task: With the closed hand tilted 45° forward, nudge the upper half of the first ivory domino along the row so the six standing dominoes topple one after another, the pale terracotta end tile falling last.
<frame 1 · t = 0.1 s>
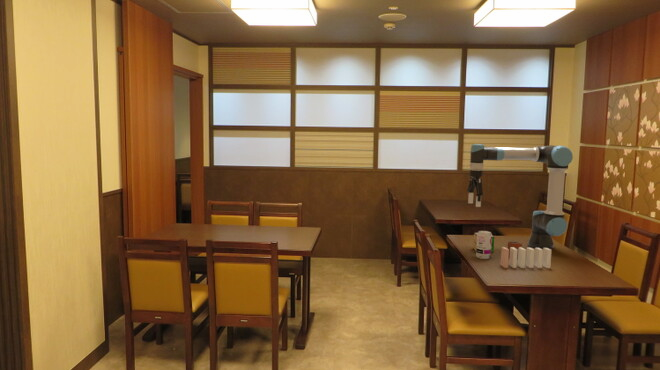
hand: (474, 205, 291), 28 cm above the table, tool pointing down, fingers open, 13 cm apart
domino 2: (537, 266, 261), on the table
domino 6: (504, 266, 260), on the table
domino 4: (521, 266, 260), on the table
domino 1: (546, 266, 261), on the table
puzzle cube: (483, 251, 295), on the table
supplement can: (483, 258, 278), on the table
domino 3: (529, 266, 260), on the table
domino 5: (512, 266, 260), on the table
battery: (514, 258, 278), on the table
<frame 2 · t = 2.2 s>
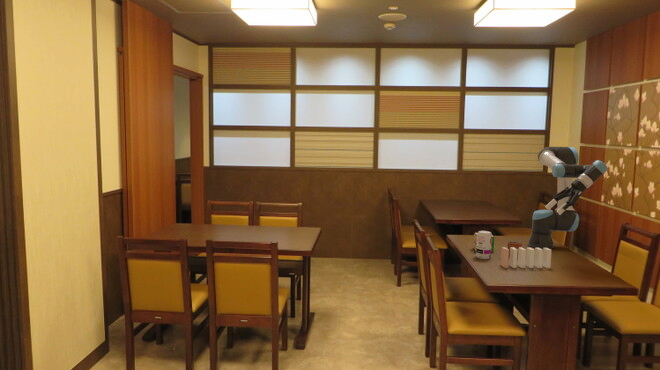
hand: (552, 210, 266), 29 cm above the table, tool tilted 45°, fingers open, 13 cm apart
nothing on the table moved.
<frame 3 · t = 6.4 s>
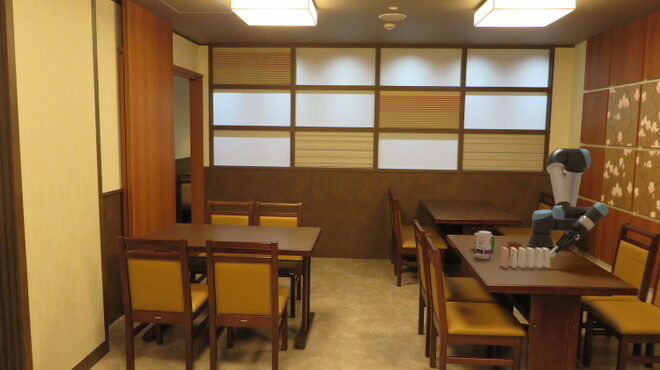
hand: (549, 256, 260), 6 cm above the table, tool tilted 45°, fingers closed
domino 1: (546, 266, 261), on the table, tilted 6°, touching gripper
everything else where it was.
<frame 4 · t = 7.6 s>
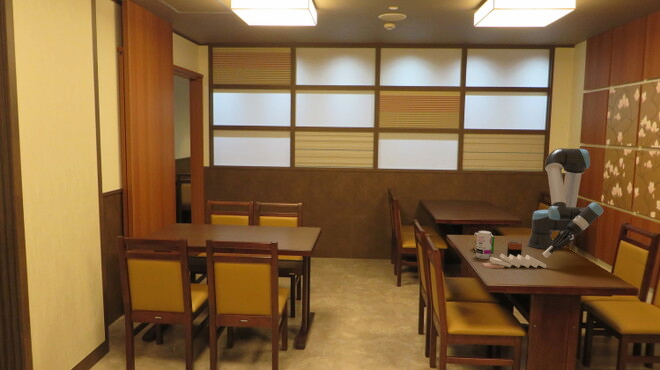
hand: (544, 255, 260), 6 cm above the table, tool tilted 45°, fingers closed
domino 2: (535, 265, 260), point 1 cm above the table, tilted 64°, touching domino 1, domino 3
domino 6: (502, 266, 260), on the table, tilted 90°, touching domino 5
domino 4: (517, 265, 260), point 1 cm above the table, tilted 61°
domino 1: (543, 265, 261), point 1 cm above the table, tilted 64°, touching domino 2
domino 3: (527, 265, 260), point 1 cm above the table, tilted 64°, touching domino 2
domino 5: (508, 264, 260), point 1 cm above the table, tilted 75°, touching domino 6
everything else where it was.
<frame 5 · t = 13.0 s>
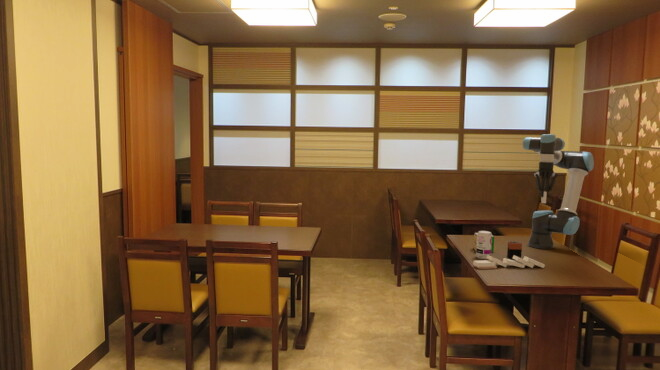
hand: (543, 202, 275), 32 cm above the table, tool pointing down, fingers closed
domino 2: (530, 265, 260), point 1 cm above the table, tilted 66°, touching domino 3
domino 6: (494, 266, 259), on the table, tilted 90°, touching domino 5
domino 4: (504, 264, 260), point 1 cm above the table, tilted 65°, touching domino 5
domino 1: (541, 265, 261), point 1 cm above the table, tilted 68°
domino 3: (522, 265, 260), point 1 cm above the table, tilted 76°, touching domino 2
domino 5: (492, 263, 258), point 2 cm above the table, tilted 90°, touching domino 4, domino 6
everything else where it was.
at the end: domino 6 tilted 90°; domino 1 tilted 68° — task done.
